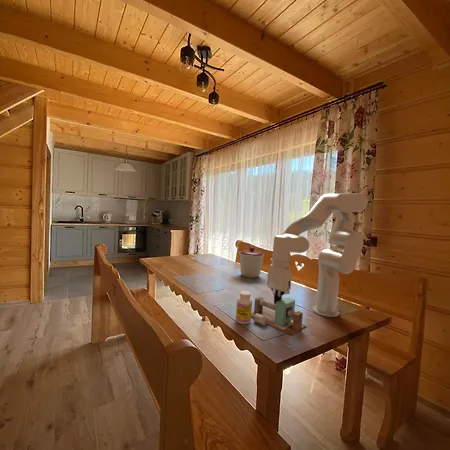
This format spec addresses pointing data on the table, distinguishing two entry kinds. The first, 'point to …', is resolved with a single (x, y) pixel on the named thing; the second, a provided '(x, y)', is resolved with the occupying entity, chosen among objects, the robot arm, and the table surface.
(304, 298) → the table surface
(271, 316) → the pipe rig
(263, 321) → the sleeve
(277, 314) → the collar
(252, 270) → the canister
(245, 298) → the supplement bottle
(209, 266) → the table surface
